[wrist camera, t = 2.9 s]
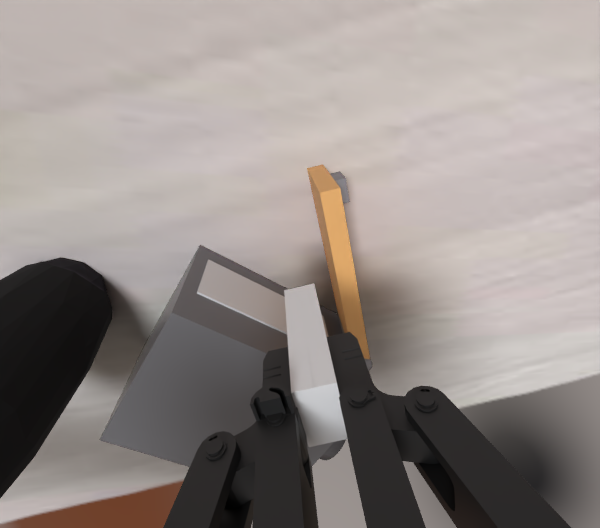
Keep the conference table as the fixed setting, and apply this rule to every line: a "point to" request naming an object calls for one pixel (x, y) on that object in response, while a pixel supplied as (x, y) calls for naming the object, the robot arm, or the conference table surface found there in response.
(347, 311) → the side door
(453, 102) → the conference table surface
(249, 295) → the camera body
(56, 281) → the portable speaker
